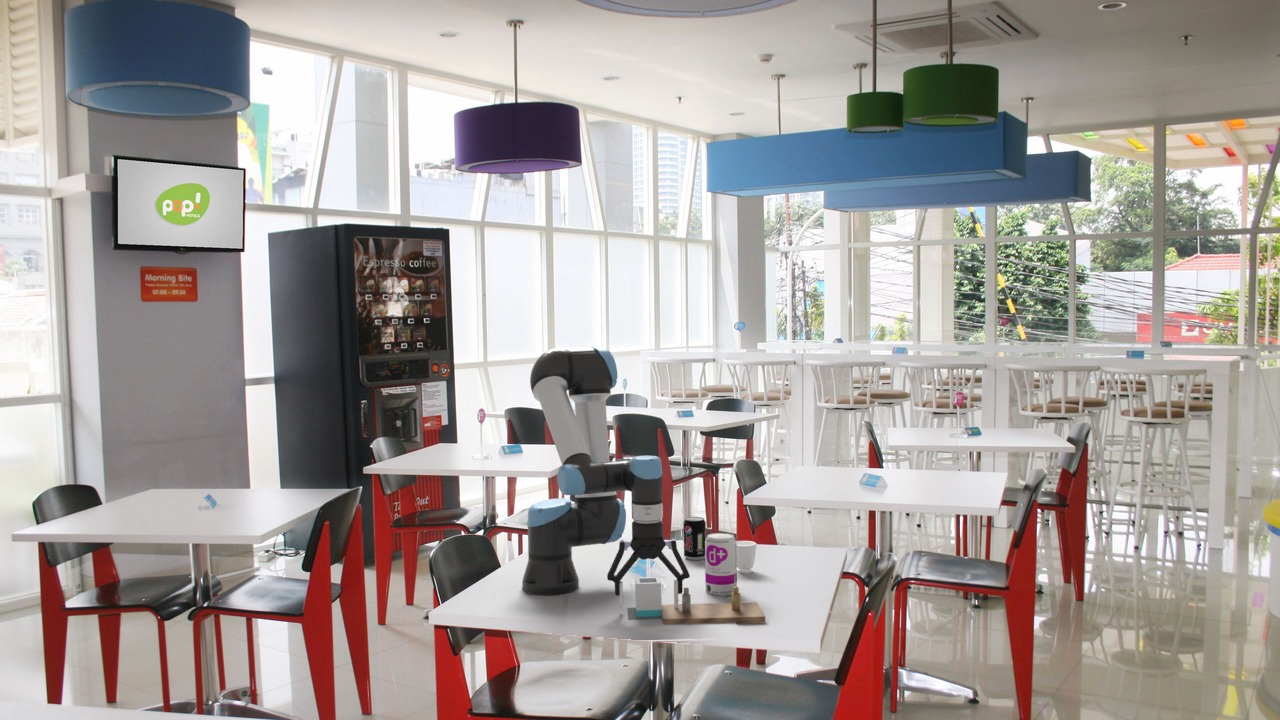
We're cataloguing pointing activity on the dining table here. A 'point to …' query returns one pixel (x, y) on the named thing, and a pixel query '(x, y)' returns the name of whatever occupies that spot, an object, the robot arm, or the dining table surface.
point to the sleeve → (648, 596)
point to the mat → (633, 617)
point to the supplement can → (720, 564)
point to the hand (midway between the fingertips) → (648, 607)
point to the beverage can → (694, 538)
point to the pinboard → (712, 611)
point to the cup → (745, 556)
